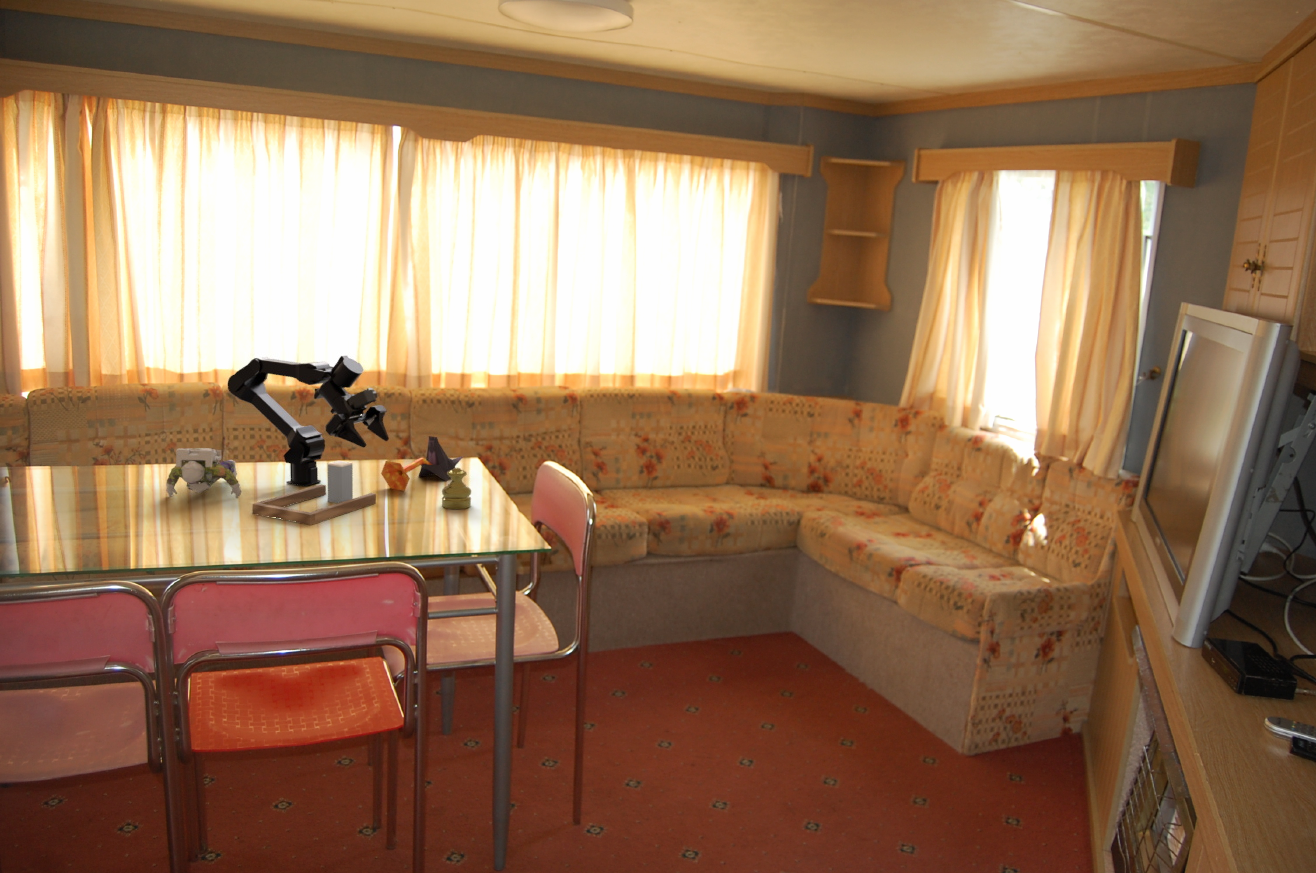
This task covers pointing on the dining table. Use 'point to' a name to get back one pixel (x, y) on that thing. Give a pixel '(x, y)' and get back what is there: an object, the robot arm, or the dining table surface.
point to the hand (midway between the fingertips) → (376, 443)
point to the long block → (340, 481)
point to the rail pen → (276, 509)
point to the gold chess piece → (456, 491)
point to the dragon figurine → (431, 465)
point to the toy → (202, 470)
